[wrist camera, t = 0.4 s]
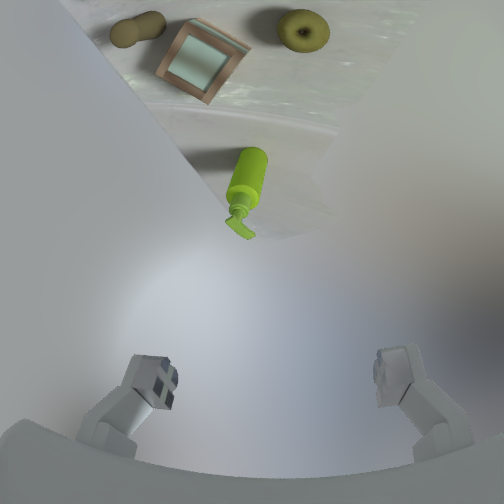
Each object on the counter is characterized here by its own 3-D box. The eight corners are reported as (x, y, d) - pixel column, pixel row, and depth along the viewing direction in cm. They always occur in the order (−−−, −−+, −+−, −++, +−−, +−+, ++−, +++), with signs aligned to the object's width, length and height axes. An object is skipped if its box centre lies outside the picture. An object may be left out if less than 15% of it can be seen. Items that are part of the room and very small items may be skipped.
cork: (133, 35, 40) (100, 49, 33) (141, 8, 36) (108, 16, 29) (160, 42, 41) (131, 56, 35) (170, 14, 37) (141, 22, 30)
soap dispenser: (255, 177, 64) (238, 246, 51) (234, 156, 60) (209, 222, 47) (276, 164, 60) (264, 233, 47) (254, 141, 57) (234, 206, 44)
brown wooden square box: (199, 17, 37) (185, 21, 33) (251, 48, 41) (244, 55, 37) (170, 64, 45) (154, 74, 41) (218, 92, 49) (208, 105, 45)
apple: (277, 8, 35) (274, 9, 31) (327, 9, 34) (331, 11, 29) (280, 47, 41) (277, 55, 36) (327, 49, 39) (331, 57, 35)
